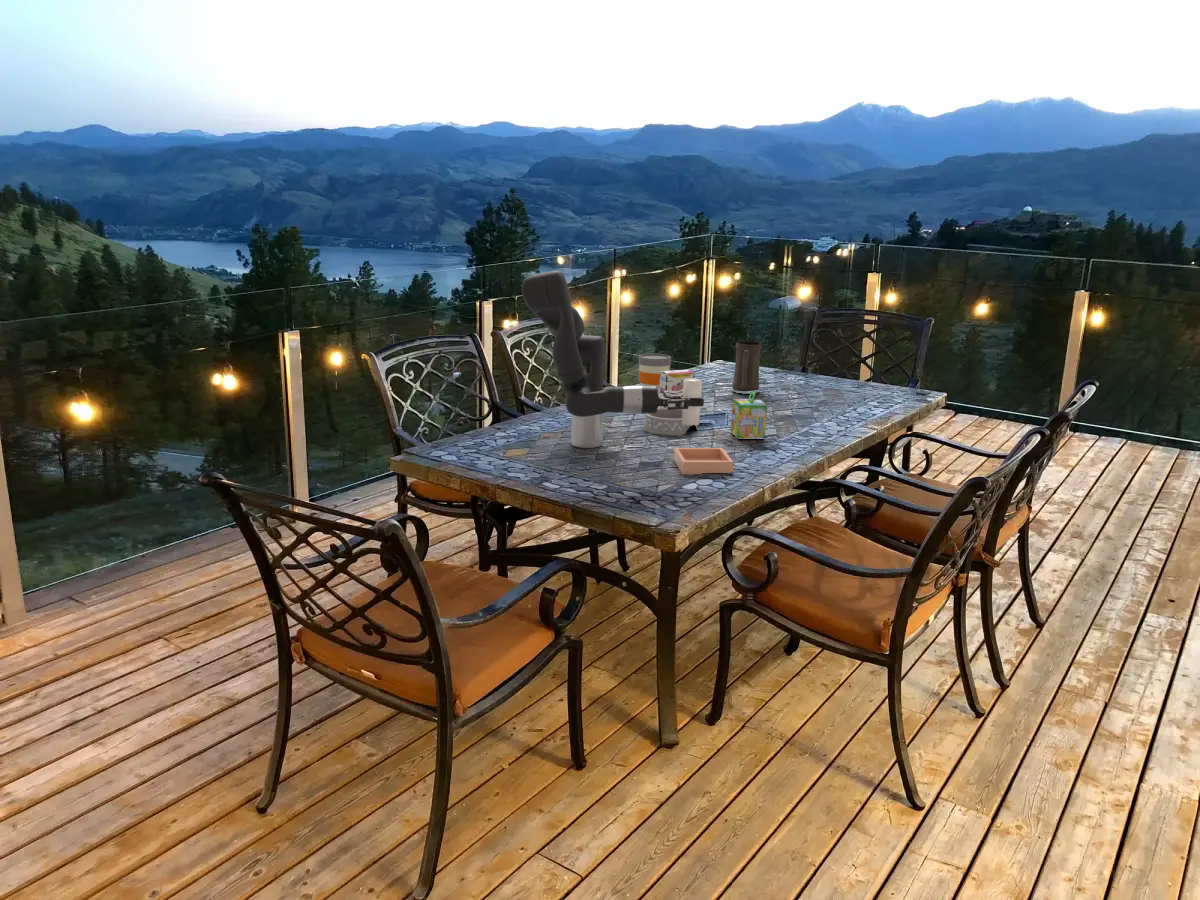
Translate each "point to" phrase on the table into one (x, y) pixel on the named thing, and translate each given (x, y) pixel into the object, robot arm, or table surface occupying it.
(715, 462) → the terracotta tray
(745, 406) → the chalk box
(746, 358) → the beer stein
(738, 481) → the table surface
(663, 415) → the dog bowl
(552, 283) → the robot arm
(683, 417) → the ceramic canister
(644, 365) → the reusable coffee cup
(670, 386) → the candy bar box
